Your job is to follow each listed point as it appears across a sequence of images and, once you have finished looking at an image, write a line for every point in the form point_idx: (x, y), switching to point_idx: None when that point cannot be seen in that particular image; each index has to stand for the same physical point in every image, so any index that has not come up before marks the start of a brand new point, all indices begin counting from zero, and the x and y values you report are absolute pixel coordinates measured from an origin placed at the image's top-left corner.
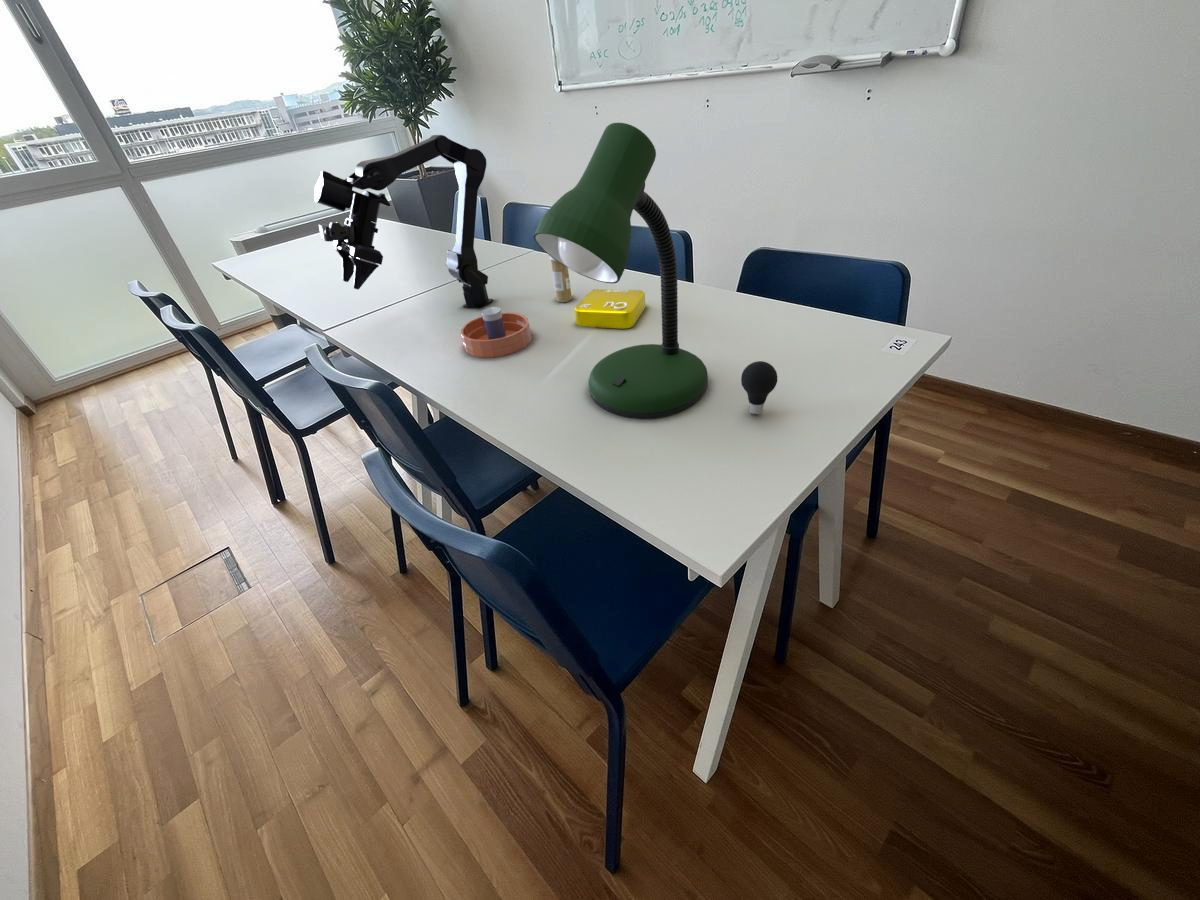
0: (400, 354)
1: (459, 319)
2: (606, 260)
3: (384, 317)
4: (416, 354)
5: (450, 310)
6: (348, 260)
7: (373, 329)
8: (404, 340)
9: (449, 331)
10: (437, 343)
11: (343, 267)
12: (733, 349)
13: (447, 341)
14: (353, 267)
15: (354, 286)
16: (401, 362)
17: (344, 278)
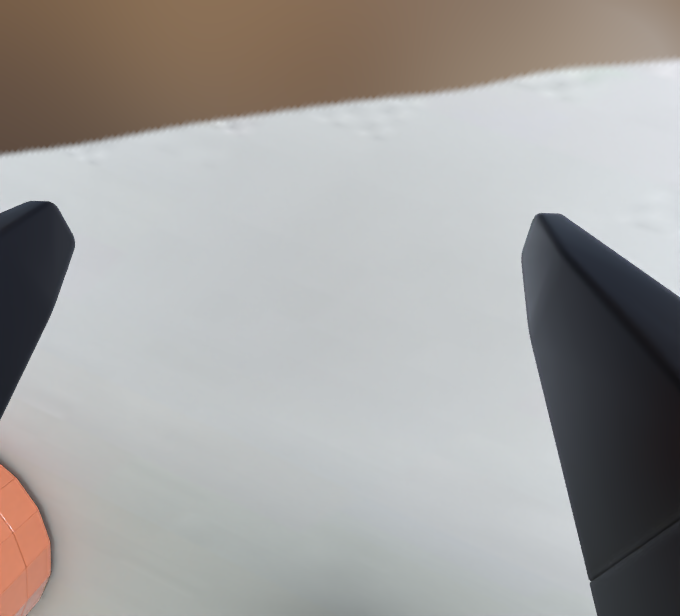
0: (101, 243)
1: (265, 561)
2: None
3: None
4: None
5: (397, 589)
6: (676, 527)
7: (517, 265)
8: (238, 317)
9: (177, 480)
10: (97, 396)
11: (626, 328)
12: None
13: (87, 429)
14: (581, 465)
15: (9, 210)
16: None
17: (542, 238)
